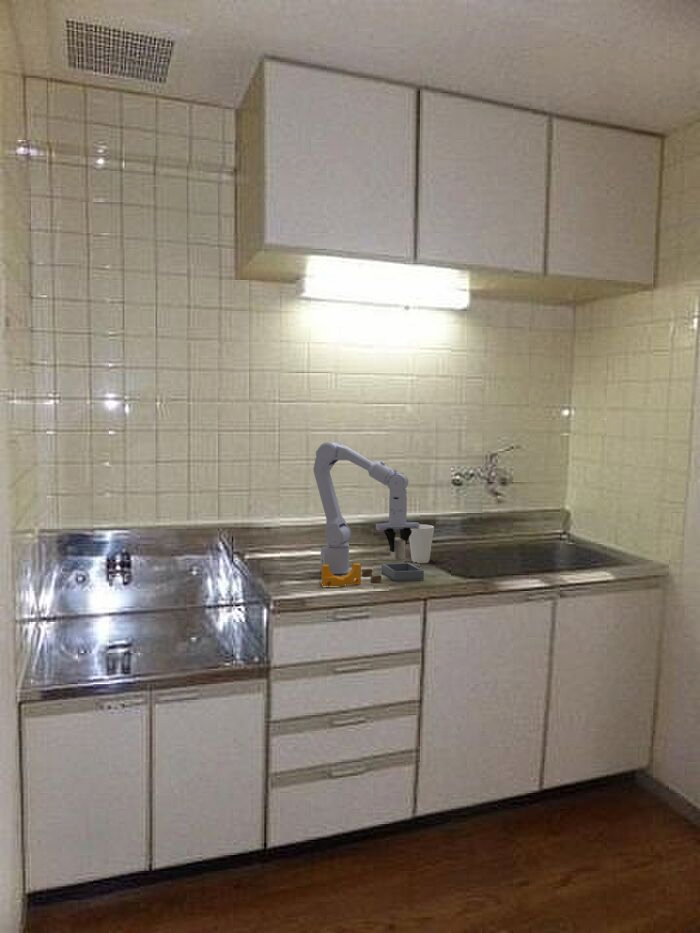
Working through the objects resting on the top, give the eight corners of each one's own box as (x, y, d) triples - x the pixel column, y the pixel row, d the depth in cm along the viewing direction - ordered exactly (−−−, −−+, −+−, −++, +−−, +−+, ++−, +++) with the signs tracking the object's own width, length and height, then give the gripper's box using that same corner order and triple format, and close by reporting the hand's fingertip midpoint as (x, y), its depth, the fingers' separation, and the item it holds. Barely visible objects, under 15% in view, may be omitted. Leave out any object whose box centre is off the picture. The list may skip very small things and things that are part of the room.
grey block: (396, 559, 213) (396, 541, 213) (389, 555, 220) (389, 537, 220) (405, 559, 214) (405, 540, 214) (398, 554, 221) (398, 537, 221)
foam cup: (407, 563, 238) (408, 528, 238) (407, 558, 248) (407, 524, 247) (434, 564, 238) (434, 528, 237) (432, 559, 247) (433, 524, 246)
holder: (372, 582, 209) (372, 576, 209) (362, 575, 219) (362, 569, 219) (381, 582, 210) (381, 576, 209) (370, 574, 220) (370, 568, 220)
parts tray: (394, 581, 211) (394, 572, 211) (381, 572, 223) (381, 563, 223) (423, 579, 214) (423, 570, 213) (409, 571, 226) (409, 562, 226)
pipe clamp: (324, 588, 202) (324, 567, 202) (321, 584, 206) (321, 564, 206) (362, 586, 205) (362, 565, 204) (358, 583, 209) (358, 563, 209)
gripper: (380, 512, 210) (380, 554, 211) (423, 511, 214) (422, 552, 215) (374, 509, 217) (373, 550, 218) (415, 508, 221) (414, 548, 222)
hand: (397, 551), depth 217 cm, fingers closed on grey block, 3 cm apart
